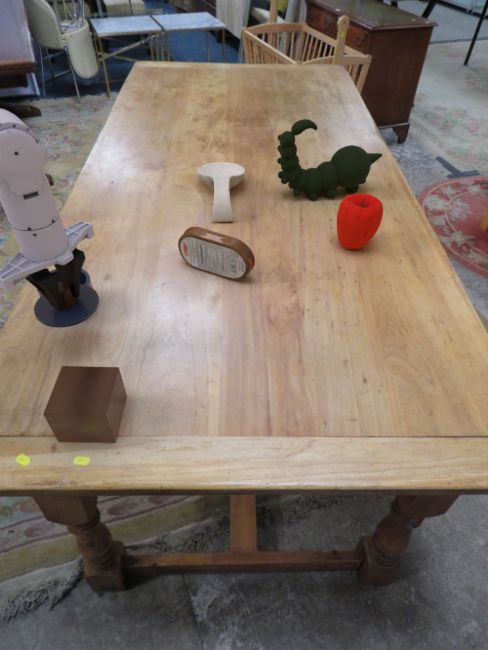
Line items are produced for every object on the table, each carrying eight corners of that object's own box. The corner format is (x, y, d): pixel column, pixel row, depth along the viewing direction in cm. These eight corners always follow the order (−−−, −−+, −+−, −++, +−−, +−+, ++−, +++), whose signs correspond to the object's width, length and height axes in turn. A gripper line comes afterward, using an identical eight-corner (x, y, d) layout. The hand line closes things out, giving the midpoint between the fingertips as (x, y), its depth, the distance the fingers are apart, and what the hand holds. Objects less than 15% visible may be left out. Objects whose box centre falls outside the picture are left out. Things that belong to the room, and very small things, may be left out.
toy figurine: (284, 213, 103) (384, 196, 105) (284, 132, 89) (400, 114, 91) (274, 193, 109) (369, 178, 111) (273, 115, 95) (381, 99, 98)
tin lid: (25, 327, 60) (16, 308, 58) (47, 285, 67) (39, 266, 64) (90, 328, 60) (83, 309, 58) (105, 286, 67) (100, 267, 64)
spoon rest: (197, 174, 112) (196, 146, 107) (243, 173, 113) (244, 146, 108) (197, 224, 95) (195, 193, 90) (250, 223, 96) (251, 193, 91)
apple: (358, 263, 86) (371, 215, 79) (322, 245, 91) (331, 198, 83) (381, 245, 91) (395, 198, 84) (346, 229, 95) (356, 182, 88)
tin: (254, 278, 82) (256, 240, 76) (247, 288, 80) (249, 250, 74) (185, 257, 87) (182, 220, 81) (177, 265, 85) (173, 228, 79)
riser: (57, 441, 57) (42, 414, 53) (74, 394, 63) (61, 365, 58) (115, 442, 57) (105, 415, 53) (127, 395, 63) (118, 366, 58)
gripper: (6, 258, 47) (45, 342, 57) (101, 201, 56) (120, 282, 66) (-35, 239, 50) (9, 322, 59) (62, 187, 59) (86, 267, 68)
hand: (65, 300), depth 63 cm, fingers closed on tin lid, 2 cm apart
